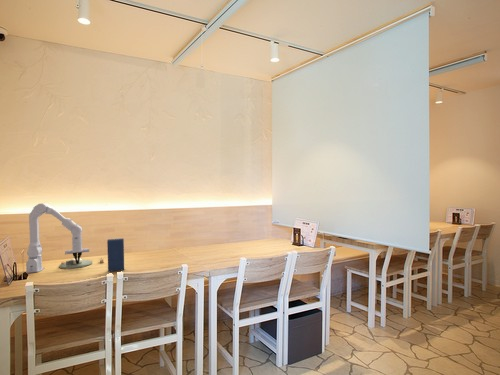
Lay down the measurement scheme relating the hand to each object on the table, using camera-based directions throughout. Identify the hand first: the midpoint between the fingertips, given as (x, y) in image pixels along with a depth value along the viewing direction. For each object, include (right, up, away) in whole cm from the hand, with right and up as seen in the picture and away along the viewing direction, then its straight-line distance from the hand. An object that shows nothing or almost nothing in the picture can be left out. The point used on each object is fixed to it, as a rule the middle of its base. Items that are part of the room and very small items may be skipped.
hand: (77, 263), depth 215 cm
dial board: (-4, -2, +5) cm, 6 cm away
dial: (-4, -1, +3) cm, 5 cm away
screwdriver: (+10, -2, +13) cm, 17 cm away
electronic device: (+30, -2, -10) cm, 32 cm away
